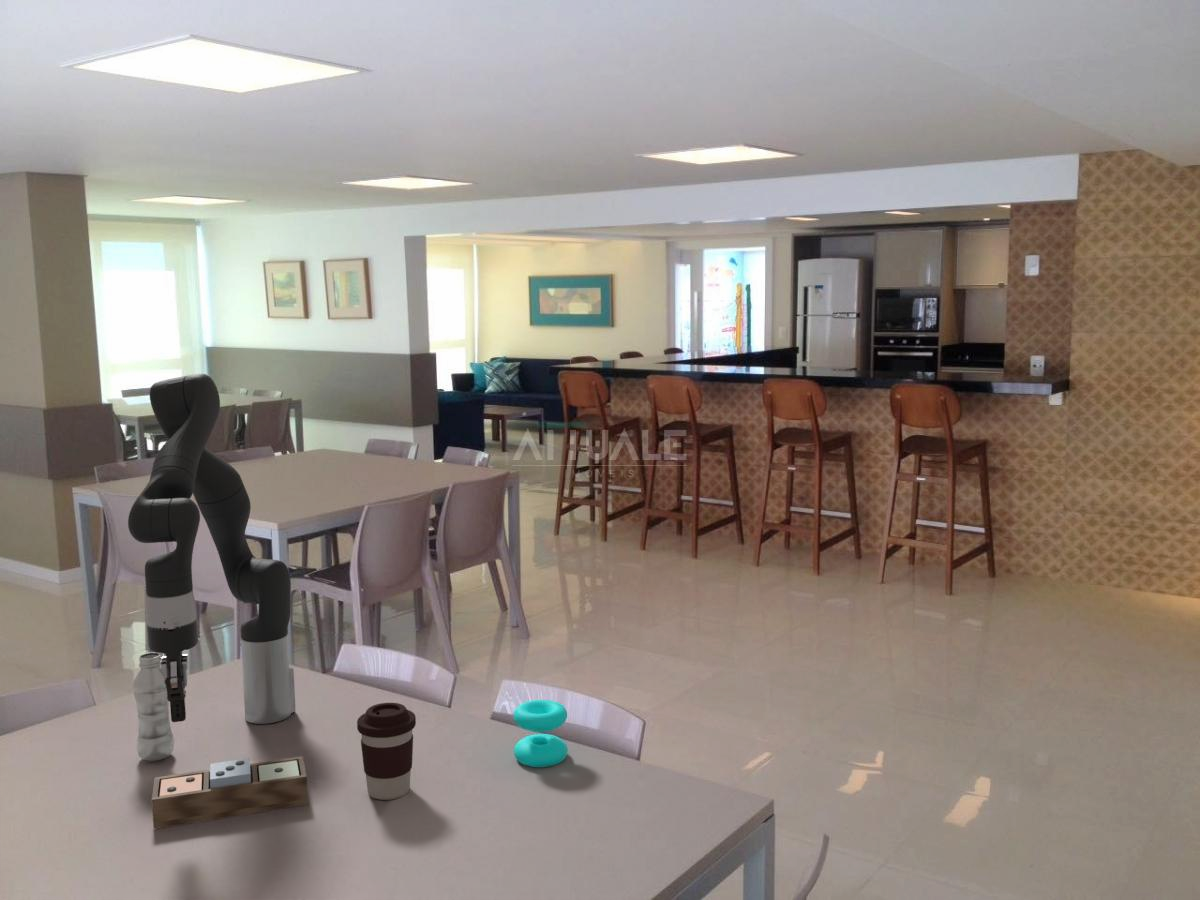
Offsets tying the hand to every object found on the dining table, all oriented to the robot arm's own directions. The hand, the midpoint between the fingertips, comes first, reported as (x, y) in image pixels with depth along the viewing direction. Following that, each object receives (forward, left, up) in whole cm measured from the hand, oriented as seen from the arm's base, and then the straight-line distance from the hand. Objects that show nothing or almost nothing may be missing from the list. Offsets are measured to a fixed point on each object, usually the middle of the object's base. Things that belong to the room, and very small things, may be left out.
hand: (178, 720), depth 173 cm
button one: (-13, +9, -14) cm, 21 cm away
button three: (-6, +4, -13) cm, 15 cm away
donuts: (-51, +35, -17) cm, 64 cm away
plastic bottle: (-9, -24, -16) cm, 30 cm away
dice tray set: (-6, +4, -16) cm, 18 cm away
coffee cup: (-25, +22, -16) cm, 37 cm away
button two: (0, 0, -14) cm, 14 cm away
